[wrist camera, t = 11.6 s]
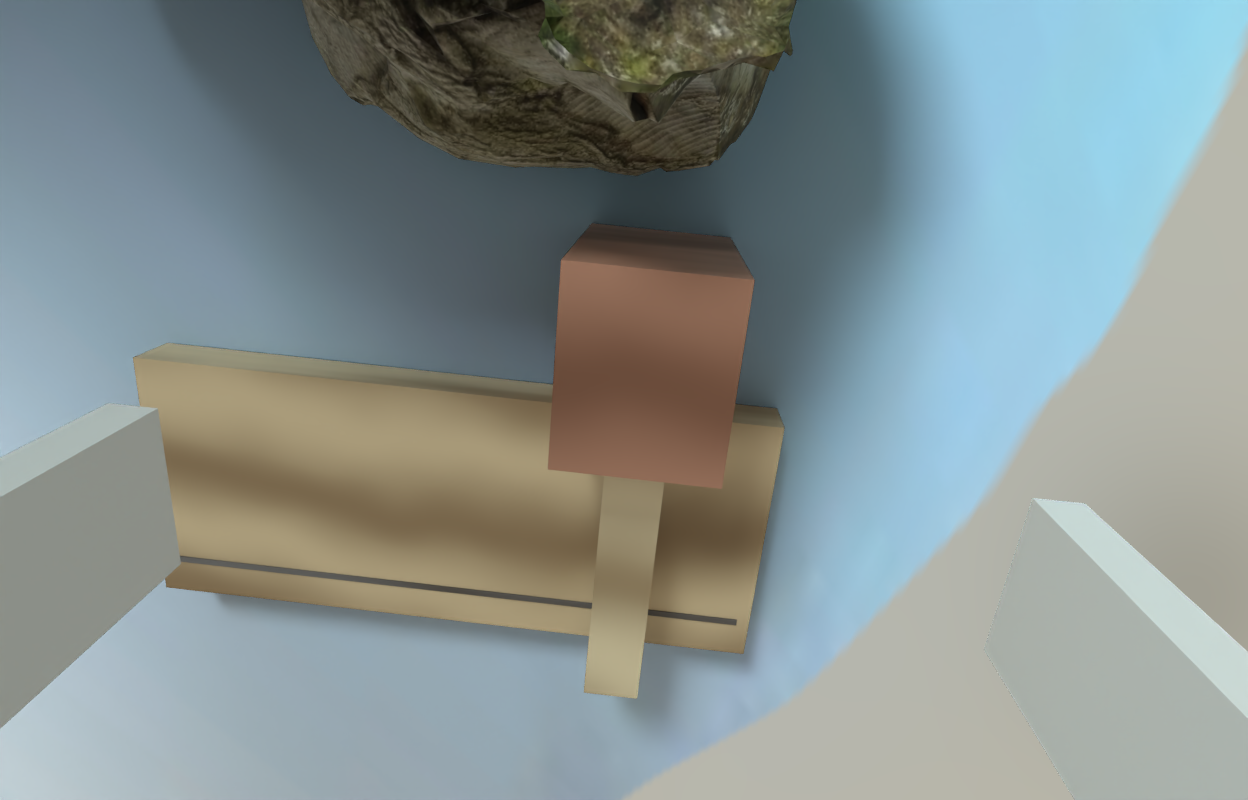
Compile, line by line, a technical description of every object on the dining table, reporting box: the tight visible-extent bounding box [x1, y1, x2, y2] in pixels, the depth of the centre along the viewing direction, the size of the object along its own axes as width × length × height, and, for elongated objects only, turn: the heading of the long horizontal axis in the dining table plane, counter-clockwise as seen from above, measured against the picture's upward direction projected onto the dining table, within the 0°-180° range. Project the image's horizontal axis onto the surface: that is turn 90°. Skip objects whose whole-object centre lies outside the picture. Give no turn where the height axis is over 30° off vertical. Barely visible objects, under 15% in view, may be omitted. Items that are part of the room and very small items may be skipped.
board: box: [133, 343, 785, 654], centre depth 29 cm, size 10×24×2 cm, turn 85°
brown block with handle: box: [548, 223, 755, 699], centre depth 26 cm, size 16×5×8 cm, turn 175°
